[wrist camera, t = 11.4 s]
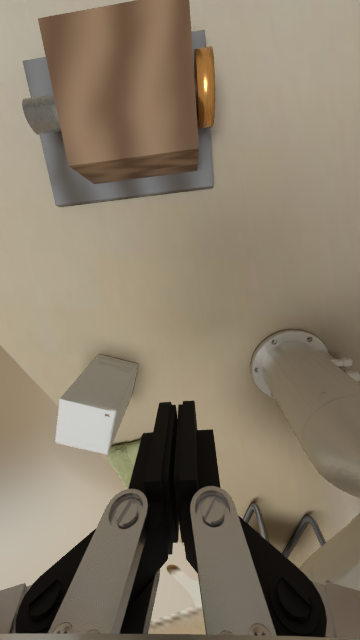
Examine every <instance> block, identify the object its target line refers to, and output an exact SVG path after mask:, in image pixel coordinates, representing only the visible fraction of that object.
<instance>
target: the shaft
mask: <svg viewBox="0 0 360 640" xmlns="http://www.w3.org/2000/svg"><path fill="white" fill-rule="evenodd" d="M194 81H195V96H196V111H197V126H198V129H200V128H207V127H212V126H213V122H214V110H215V71H214V56H213V49H212V46H210V47H204V48H198V49H194ZM22 105H23V111H24V114H25V117H26V119H27V121H28V123H29V125H30V126H31V128H32V129H33V131H34V132H35V133H37V134H46V133H53V132H59V131H61V127H60V122H59V118H58V113H57V108H56V103H55V98H54V94H52V95H46V96H40V97H33V98H27V99H23V102H22Z"/></svg>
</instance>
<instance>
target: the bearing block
mask: <svg viewBox="0 0 360 640" xmlns="http://www.w3.org/2000/svg"><path fill="white" fill-rule="evenodd" d="M38 21H39V26H40V31H41V35H42V40H43V45H44V50H45V55H46V57H43V58H37V59H32V60H26V61H23V65H24V69H25V73H26V78H27V82H28V86H29V91H30V95H31V98H33V97H40V96H46V95H52V94H54V98H55V103H56V108H57V113H58V118H59V122H60V127H61V131H59V132H53V133H46V134H40V139H41V143H42V147H43V152H44V156H45V160H46V165H47V169H48V173H49V178H50V182H51V186H52V191H53V195H54V200H55V204H56V206H59V207H65V206H73V205H81V204H89V203H97V202H105V201H113V200H121V199H129V198H137V197H145V196H154V195H162V194H170V193H178V192H186V191H194V190H202V189H210V188H213V173H212V154H211V136H210V127H207V128H200V129H198V126H197V111H196V96H195V81H194V49H198V48H204V47H206V45H205V30H201V31H195V32H191V22H190V7H189V0H136V1H131V2H126V3H120V4H115V5H109V6H104V7H98V8H93V9H87V10H82V11H77V12H71V13H66V14H60V15H55V16H49V17H44V18H38Z"/></svg>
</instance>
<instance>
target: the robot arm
mask: <svg viewBox="0 0 360 640" xmlns="http://www.w3.org/2000/svg"><path fill="white" fill-rule="evenodd" d="M272 340H273V341H272ZM351 366H352V360H351V359H350V358H340V359H335V358H333V357H332V356H330V355H329V352H328V350H327V348H326V346H325V345H324V343H323V342H322V341H321V340H320V339H318V338H317V337H315V336H314V335H312V334H310V333H308V332H305V331H301V330H285V331H281V332H278V333H276V334H273V335H271V336H270V337H268V338H267V339H265V340H264V341H263V342H262V343H261V344H260V345H259V346H258V348H257V349H256V350H255V352H254V354H253V357H252V360H251V374H252V377H253V380H254V382H255V384H256V385H257V387H258V388H259V389H260V390H261V391H262V392H263V393H264V394H266V395H268V396H269V397H272V398H275V400H276V402H277V404H278V405H279V407H280V409H281V411H282V412H283V414H284V416H285V418H286V419H287V421H288V423H289V425H290V426H291V428H292V430H293V432H294V433H295V435H296V437H297V439H298V440H299V442H300V444H301V446H302V447H303V449H304V451H305V452H306V454H307V456H308V457H309V459H310V461H311V462H312V464H313V465H314V467H315V468H316V469H317V471H318V472H319V473H320V474H321V475H322V476H323V477H324V478H325V479H326V480H327V481H329V482H330V483H331V484H333V485H334V486H336V487H337V488H339V489H341V490H343V491H345V492H347V493H349V494H351V495H353V496H355V497H358V498H360V384H359V383H358V382H359V381H360V375H359V373H358V372H357V370H341V369H340V368H339V367H351ZM255 368H256V369H255ZM179 525H180V532H181V539H182V542H184V545H185V552H186V559H187V560H188V562H189V563H190V564H191V566H192V567H193V568H194V569H195V571H196V572H197V573H198V578H199V586H200V593H201V601H202V608H203V615H204V623H205V630H206V635H191V634H148V631H149V626H150V621H151V616H152V611H153V606H154V601H155V596H156V591H157V586H158V582H159V575H160V568H161V567H162V566H163V564H164V563H165V562H166V561H167V559H168V554H172V547H173V543H176V542H178V531H179ZM0 640H360V513H359V514H358V515H357V516H356V517H355V518H354V519H352V521H351V523H349V524H348V525H347V526H346V527H345V528H343V529H342V530H341V531H340V532H338V533H337V534H336V535H335V536H334V537H332V538H331V539H330V540H329V541H327V542H326V543H325V544H324V545H323V546H321V547H320V548H319V549H318V550H317V551H316V552H315V553H313V554H312V555H311V556H310V557H309V558H308V559H307V560H306V561H305V562H304V563H303V564H302V566H301V567H300V568H299V569H298V568H297V567H296V566H295V565H294V564H293V563H292V562H290V561H289V560H288V559H287V558H286V557H285V556H284V555H283V554H281V553H280V552H279V551H278V550H277V549H276V548H275V547H273V546H272V545H271V544H270V543H269V542H268V541H267V540H266V539H264V538H263V537H262V536H261V535H260V534H259V533H258V532H256V531H255V530H254V529H253V528H252V527H251V526H250V525H248V524H247V523H246V522H245V521H244V520H243V519H242V518H241V517H239V516H238V514H237V511H236V507H235V504H234V502H233V500H232V498H231V496H230V495H229V494H228V493H227V492H226V491H225V490H223V489H221V488H220V481H219V474H218V466H217V458H216V450H215V442H214V434H213V430H197V423H196V412H195V402H194V401H183V405H179V407H178V420H177V412H176V405H172V404H171V402H163V403H159V407H158V412H157V417H156V422H155V427H154V432H153V433H143V435H142V438H141V442H140V446H139V449H138V453H137V457H136V461H135V465H134V469H133V472H132V476H131V480H130V484H129V488H128V489H127V490H124V491H121V492H120V493H118V494H117V495H115V496H114V497H113V498H112V499H111V500H110V502H109V504H108V505H107V507H106V509H105V511H104V513H103V515H102V517H101V520H100V522H99V524H98V526H97V528H96V529H95V530H94V531H93V532H91V533H90V534H89V535H88V536H87V537H86V538H84V539H83V540H82V541H81V542H80V543H79V544H77V545H76V546H75V547H74V548H73V549H72V550H70V551H69V552H68V553H67V554H66V555H65V556H63V557H62V558H61V559H60V560H59V561H58V562H57V563H55V564H54V565H53V566H52V567H51V568H50V569H49V570H47V571H46V572H45V573H44V574H43V575H41V576H40V577H39V578H38V579H37V580H36V582H34V583H33V585H31V586H27V587H26V584H25V583H24V584H20V585H17V586H14V587H11V588H8V589H4V590H1V591H0Z"/></svg>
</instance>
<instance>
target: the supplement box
mask: <svg viewBox="0 0 360 640" xmlns="http://www.w3.org/2000/svg"><path fill="white" fill-rule="evenodd" d="M137 369H138V364H136V363H132V362H128V361H124V360H120V359H117V358H112V357H108V356H104V355H98V356H97V357H96V358H95V359H94V360H93V361H92V362H91V364H90V365H89V366H88V367H87V368H86V369H85V371H84V372H83V373H82V374H81V375H80V376H79V377H78V379H77V380H76V381H75V382H74V383H73V384H72V385H71V387H70V388H69V389H68V390H67V391H66V392H65V393H64V395H63V396H62V397H61V398H60V400H59V409H58V419H57V428H56V437H55V443H59V444H63V445H68V446H72V447H76V448H80V449H85V450H89V451H94V452H98V453H102V454H106V455H107V454H108V452H109V450H110V448H111V446H112V443H113V441H114V438H115V436H116V433H117V431H118V428H119V426H120V423H121V421H122V418H123V416H124V413H125V411H126V408H127V406H128V404H129V401H130V399H131V396H132V392H133V388H134V383H135V378H136V374H137Z"/></svg>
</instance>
